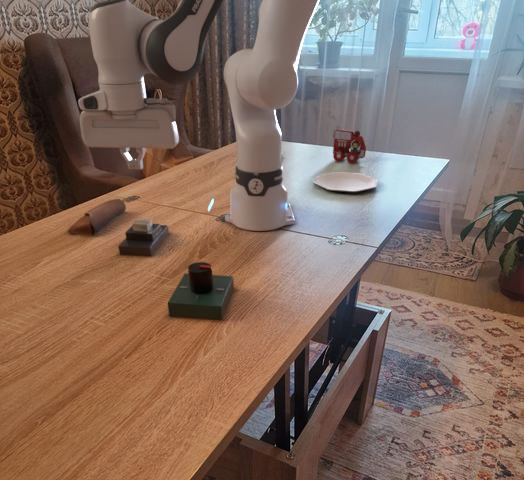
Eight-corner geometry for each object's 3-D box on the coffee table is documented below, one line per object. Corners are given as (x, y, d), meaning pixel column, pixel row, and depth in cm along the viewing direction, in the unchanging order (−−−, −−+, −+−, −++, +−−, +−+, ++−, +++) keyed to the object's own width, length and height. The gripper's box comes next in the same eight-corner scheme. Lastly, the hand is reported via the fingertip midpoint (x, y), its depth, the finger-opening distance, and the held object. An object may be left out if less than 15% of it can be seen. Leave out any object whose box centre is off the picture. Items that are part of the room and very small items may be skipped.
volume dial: (187, 293, 91) (184, 269, 88) (194, 282, 94) (192, 259, 91) (209, 295, 90) (207, 271, 87) (215, 284, 93) (214, 261, 91)
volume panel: (186, 286, 99) (184, 272, 97) (233, 289, 98) (233, 275, 96) (169, 316, 89) (167, 301, 88) (222, 320, 88) (221, 305, 87)
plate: (374, 197, 144) (374, 192, 144) (309, 192, 149) (309, 187, 148) (378, 179, 160) (379, 174, 159) (320, 174, 164) (320, 170, 163)
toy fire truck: (361, 164, 174) (364, 133, 168) (328, 161, 179) (331, 130, 173) (366, 160, 180) (369, 130, 174) (334, 156, 184) (336, 127, 178)
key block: (140, 232, 123) (137, 217, 121) (169, 233, 122) (167, 218, 120) (119, 255, 112) (116, 238, 109) (151, 256, 111) (149, 240, 109)
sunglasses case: (98, 208, 136) (106, 188, 132) (120, 222, 137) (128, 203, 133) (65, 232, 122) (72, 211, 118) (90, 247, 123) (97, 227, 119)
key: (138, 226, 116) (137, 218, 115) (153, 227, 116) (151, 218, 115) (133, 232, 114) (132, 223, 112) (148, 232, 113) (146, 224, 112)
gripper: (178, 95, 98) (185, 165, 107) (83, 95, 101) (98, 163, 109) (169, 101, 93) (178, 173, 101) (70, 100, 96) (86, 171, 104)
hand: (136, 168), depth 105 cm, fingers closed
